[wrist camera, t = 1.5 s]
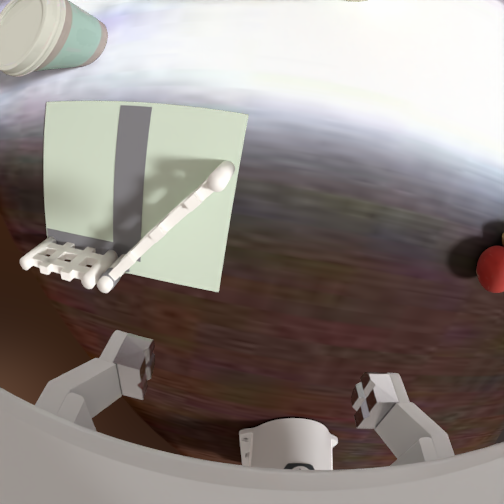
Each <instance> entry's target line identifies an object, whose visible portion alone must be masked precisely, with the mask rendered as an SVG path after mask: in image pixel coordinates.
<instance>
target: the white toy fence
mask: <svg viewBox="0 0 504 504" xmlns="http://www.w3.org/2000/svg"><path fill="white" fill-rule="evenodd" d="M234 172H235V166H234V164H233V163H232V162H230V161H223V162H222V163H221V164H220V165H219V166H218V167H217V168H216V169H215V170H214V171H213V172H212V173H211V174H210V175H209V177H208V178H207V179H206V180H205V181H204V182H203V183H202V184H201V185H199V186H198V188H196V189H195V190H194V191H193V192H192V193H191V194H190V195H189V196H187V197H186V198H185V199H184V200H183V201H182V202H181V203H180V204H179V205H177V206H176V207H175V208H174V209H173V210H172V211H170V212H169V213H168V214H167V215H166V216H165V217H164V218H163V219H162V220H161V221H160V222H159V223H158V224H157V225H156V226H155V227H154V228H153V229H151V230H150V231H149V232H148V233H147V234H146V235H145V236H144V237H143V238H142V239H141V240H140V241H139V242H138V243H137V244H136V245H135V246H134V247H133V248H132V249H131V250H130V251H129V252H128V253H127V254H122V255H121V256H120V257H119V258H118V259H117V260H116V261H115V262H114V264H113V265H112V266H111V267H110V268H108V269H107V270H106V271H105V272H104V273H103V275H102V276H101V277H100V279H99V281H98V282H97V287H98V289H99V290H100V291H101V292H103V293H108V292H109V291H110V290H111V289H113V288H114V286H115V285H116V284H117V282H118V281H119V280H120V277H121V276H122V275H123V273H124V272H125V271H126V270H128V269H129V268H130V267H131V266H132V265H133V264H134V263H135V262H136V261H137V260H138V259H139V258H140V257H141V256H142V255H143V254H144V253H145V252H146V251H147V250H148V249H149V248H150V247H151V246H153V245H154V244H155V243H157V242H158V241H159V240H160V239H161V238H162V237H164V236H165V235H166V233H167V232H168V231H169V230H170V229H171V228H172V227H174V226H175V225H176V224H177V223H178V222H179V221H180V220H182V219H183V218H184V217H185V216H186V215H187V214H188V213H190V212H192V211H193V210H194V209H195V208H196V207H198V206H199V205H200V204H201V203H202V202H203V201H204V200H205V199H206V198H207V197H208V196H209V195H211V194H212V193H213V192H220V191H222V190H224V188H225V187H226V185H227V184H228V182H229V180H230V179H231V177H232V175H233V174H234Z"/></svg>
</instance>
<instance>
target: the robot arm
mask: <svg viewBox="0 0 504 504" xmlns="http://www.w3.org/2000/svg"><path fill="white" fill-rule="evenodd" d="M154 347H155V345H154V340H151V339H148V338H144V337H140V336H137V335H133V334H130V333H126V332H122V331H119V330H116V331H115V332H114V333H113V335H112V336H111V338H110V340H109V342H108V343H107V345H106V347H105V349H104V351H103V352H102V354H101V356H100V358H99V359H98V358H94V359H92V360H90V361H88V362H87V363H84V364H83V365H81V366H79V367H77V368H75V369H73V370H71V371H69V372H67V373H65V374H63V375H61V376H59V377H57V378H55V379H53V380H51V381H49V382H48V384H47V385H46V387H45V389H44V390H43V392H42V394H41V395H40V397H39V399H38V400H37V402H36V404H35V405H33V404H31V403H28V402H27V401H25V400H23V399H21V398H19V397H17V396H15V395H13V394H11V393H10V392H8V391H6V390H4V389H2V388H1V387H0V504H504V442H502V443H499V444H496V445H492V446H489V447H486V448H482V449H478V450H475V451H471V452H467V453H463V454H459V455H454V452H453V449H452V446H451V443H450V440H449V438H448V435H447V433H446V432H445V431H444V430H443V429H441V428H440V427H439V426H438V425H437V424H436V423H435V422H434V421H433V420H431V419H430V418H429V417H428V416H427V415H426V414H425V413H424V412H423V411H421V410H420V409H419V408H418V407H417V406H416V405H415V404H414V403H410V402H409V399H408V396H407V393H406V391H405V388H404V385H403V383H402V380H401V377H400V375H399V374H398V373H378V372H365V373H364V374H363V375H362V376H361V378H360V379H361V382H360V383H359V384H357V385H356V386H355V388H354V389H353V392H352V396H351V402H352V407H353V408H354V409H355V410H356V413H355V415H354V417H355V422H356V427H357V428H375V431H376V432H377V433H378V434H379V436H380V437H381V438H382V439H383V441H384V442H385V443H386V445H387V446H388V447H389V448H390V450H391V451H392V452H393V453H394V455H395V456H396V457H397V460H396V461H395V462H394V463H393V464H391V466H388V467H378V468H366V469H348V470H332V448H333V447H334V446H335V445H336V444H337V443H338V438H337V437H335V436H334V435H332V434H330V433H329V431H328V429H327V428H326V427H325V426H324V425H323V424H321V423H319V422H316V421H313V420H309V419H302V418H285V419H278V420H273V421H269V422H266V423H264V424H261V425H259V426H257V427H254V428H248V429H243V430H240V431H239V439H240V449H241V459H242V465H244V466H242V465H234V464H227V463H220V462H214V461H208V460H202V459H196V458H191V457H186V456H181V455H177V454H172V453H168V452H163V451H160V450H156V449H151V448H148V447H144V446H141V445H137V444H134V443H130V442H127V441H124V440H120V439H117V438H114V437H111V436H108V435H105V434H102V433H99V432H97V431H96V429H95V426H94V424H93V422H92V418H93V417H94V416H96V415H97V414H98V413H100V412H101V411H102V410H103V409H105V408H106V407H108V406H109V405H110V404H112V403H113V402H114V401H116V400H117V399H118V398H120V397H121V396H122V395H125V396H129V397H133V398H137V399H141V400H143V398H144V396H145V393H146V390H147V387H148V384H147V380H149V379H150V378H151V376H152V373H153V370H154V365H155V355H154V354H153V350H154Z"/></svg>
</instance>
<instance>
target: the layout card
mask: <svg viewBox="0 0 504 504" xmlns="http://www.w3.org/2000/svg"><path fill="white" fill-rule="evenodd" d="M248 116H249V115H248V114H242V113H236V112H229V111H222V110H215V109H207V108H199V107H190V106H181V105H170V104H158V103H143V102H123V101H58V102H47V103H46V115H45V130H44V165H43V168H44V203H45V218H46V230H47V238H49V237H50V236H52V237H54V238H55V239H56V241H57V244H58V245H62V246H63V245H64V244H65V243H67V242H70V243H74V244H75V249H79V250H84V249H85V248H86V247H92V248H95V250H96V253H97V254H101V255H104V254H105V253H106V252H107V251H108V250H114V251H115V252H116V253H117V255H118V258H119V257H120V256H121V255H122V254H127V253H128V252H129V251H130V250H131V249H132V248H133V247H134V246H135V245H136V244H137V243H138V242H139V241H140V240H141V239H142V238H143V237H144V236H145V235H146V234H147V233H148V232H149V231H150V230H151V229H153V228H154V227H155V226H156V225H157V224H158V223H159V222H160V221H161V220H162V219H163V218H164V217H165V216H166V215H167V214H168V213H169V212H170V211H172V210H173V209H174V208H175V207H176V206H177V205H179V204H180V203H181V202H182V201H183V200H184V199H185V198H186V197H187V196H189V195H190V194H191V193H192V192H193V191H194V190H195V189H196V188H198V186H199V185H201V184H202V183H203V182H204V181H205V180H206V179H207V178H208V177H209V175H210V174H211V173H212V172H213V171H214V170H215V169H216V168H217V167H218V166H219V165H220V164H221V163H222V162H223V161H230V162H232V163H233V164H234V166H235V172H234V174H233V175H232V177H231V179H230V180H229V182H228V184H227V185H226V187H225V188H224V190H222V191H220V192H213V193H212V194H211V195H209V196H208V197H207V198H206V199H205V200H204V201H203V202H202V203H201V204H200V205H199V206H198V207H196V208H195V209H194V210H193V211H192V212H190V213H188V214H187V215H186V216H185V217H184V218H183V219H182V220H180V221H179V222H178V223H177V224H176V225H175V226H174V227H172V228H171V229H170V230H169V231H168V232H167V233H166V235H165V236H164V237H162V238H161V239H160V240H159V241H158V242H157V243H155V244H154V245H153V246H151V247H150V248H149V249H148V250H147V251H146V252H145V253H144V254H143V255H142V256H141V257H140V258H139V259H138V260H137V261H136V262H135V263H134V264H133V265H132V266H131V267H130V268H129V269H128V270H126V271H125V272H126V273H130V274H134V275H139V276H143V277H148V278H152V279H157V280H161V281H166V282H171V283H175V284H180V285H185V286H190V287H195V288H200V289H205V290H210V291H215V292H219V287H220V281H221V274H222V268H223V261H224V255H225V249H226V242H227V236H228V230H229V224H230V218H231V212H232V206H233V200H234V194H235V188H236V182H237V176H238V171H239V165H240V159H241V154H242V148H243V143H244V137H245V132H246V126H247V121H248Z"/></svg>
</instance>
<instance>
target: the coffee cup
mask: <svg viewBox="0 0 504 504" xmlns="http://www.w3.org/2000/svg"><path fill="white" fill-rule="evenodd" d="M107 38H108V33H107V29H106V27H105V25H104V24H103V23H102V22H100V21H99V20H98V19H96V18H95V17H93V16H92V15H90V14H89V13H87V12H86V11H84V10H82V9H81V8H79V7H78V6H76V5H75V4H73V3H71V2H70V1H68V0H11V1H10V2H9V3H8V4H7V5H6V6H5V8H4V9H3V10H2V12H1V13H0V70H1V71H2V72H4V73H5V74H7V75H11V76H15V77H20V76H24V75H27V74H29V73H31V72H34V71H41V70H49V69H59V68H69V67H81V66H86V65H89V64H91V63H92V62H94V61H95V60H96V59H97V58H98V57H99V56H100V55H101V53H102V52H103V50H104V48H105V46H106V43H107Z"/></svg>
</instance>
